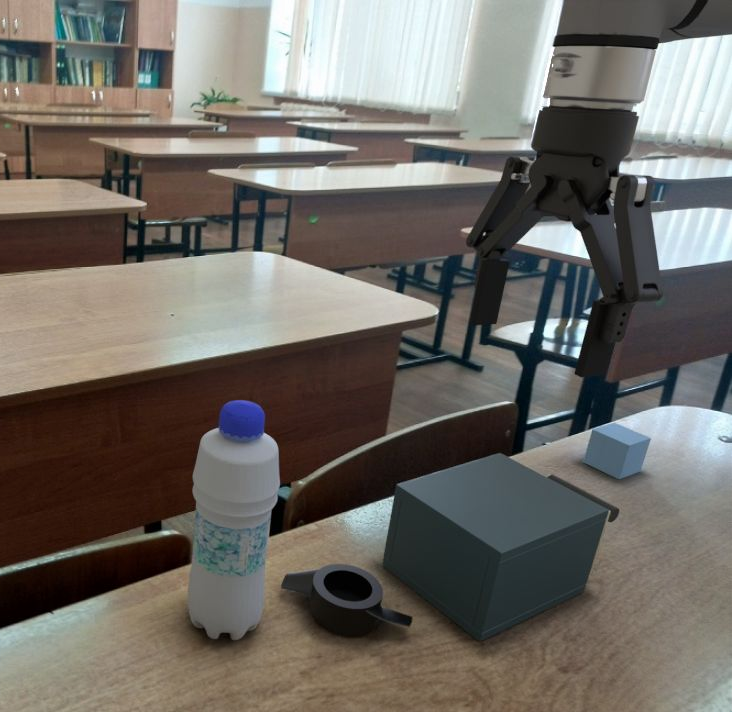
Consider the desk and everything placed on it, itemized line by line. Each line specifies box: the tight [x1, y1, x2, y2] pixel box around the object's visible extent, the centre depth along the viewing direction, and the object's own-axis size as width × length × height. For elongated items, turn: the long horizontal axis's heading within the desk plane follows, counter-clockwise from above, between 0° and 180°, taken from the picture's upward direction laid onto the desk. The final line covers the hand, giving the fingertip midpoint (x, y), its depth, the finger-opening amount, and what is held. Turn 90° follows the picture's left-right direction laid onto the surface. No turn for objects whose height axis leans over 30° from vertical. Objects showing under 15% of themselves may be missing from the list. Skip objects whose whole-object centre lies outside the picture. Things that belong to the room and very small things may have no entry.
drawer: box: [546, 473, 620, 576], centre depth 69 cm, size 18×10×7 cm, turn 120°
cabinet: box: [381, 452, 609, 643], centre depth 66 cm, size 14×11×9 cm
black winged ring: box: [280, 563, 413, 639], centre depth 62 cm, size 8×10×3 cm
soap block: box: [582, 422, 652, 480], centre depth 89 cm, size 5×5×5 cm
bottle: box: [187, 399, 281, 641], centre depth 57 cm, size 7×7×20 cm
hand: (531, 347), depth 68 cm, fingers open, 13 cm apart
